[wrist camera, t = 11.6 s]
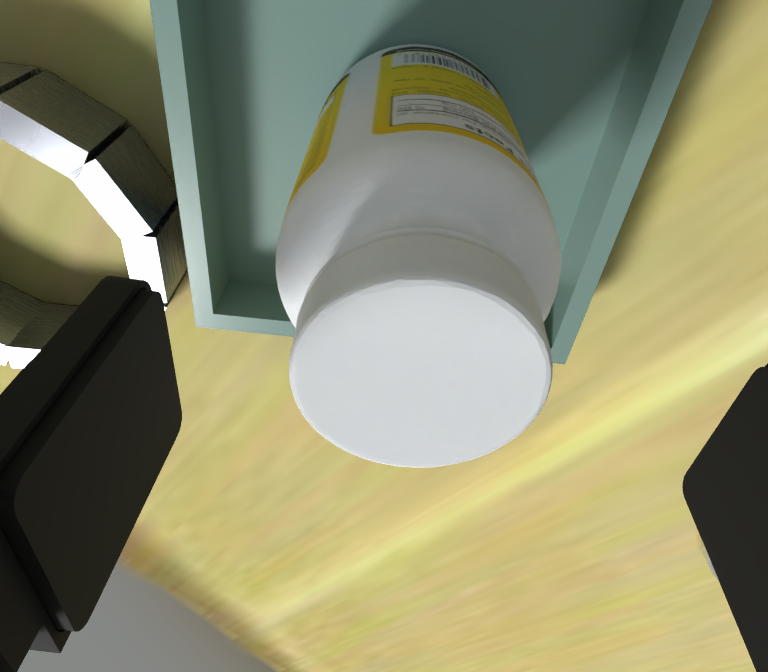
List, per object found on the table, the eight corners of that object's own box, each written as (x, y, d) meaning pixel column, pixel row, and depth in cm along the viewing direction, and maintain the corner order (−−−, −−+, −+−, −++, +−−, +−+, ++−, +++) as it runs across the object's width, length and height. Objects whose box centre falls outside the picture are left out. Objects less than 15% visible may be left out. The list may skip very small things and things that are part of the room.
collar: (167, 81, 16) (133, 110, 14) (202, 338, 22) (181, 384, 20) (-179, 41, 16) (-263, 66, 14) (-48, 314, 22) (-93, 357, 20)
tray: (700, -99, 13) (750, -94, 11) (550, 317, 21) (564, 364, 19) (169, -167, 13) (124, -174, 11) (216, 282, 20) (196, 326, 18)
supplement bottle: (370, 254, 18) (340, 521, 11) (282, 95, 15) (155, 311, 8) (534, 189, 17) (635, 450, 9) (472, -2, 14) (545, 151, 6)
